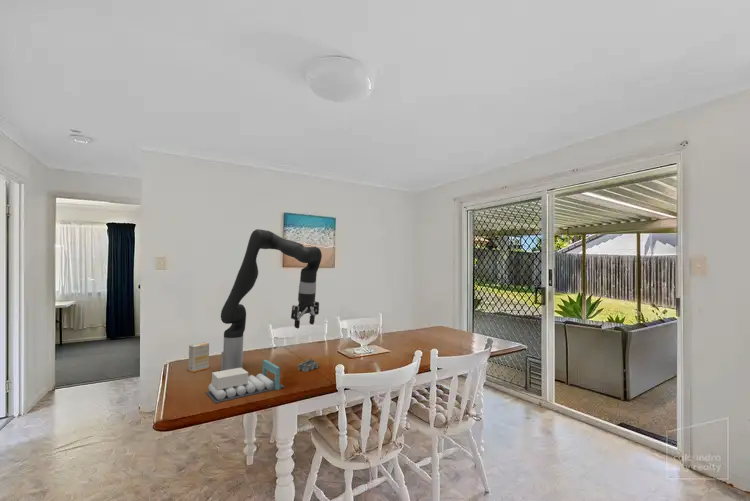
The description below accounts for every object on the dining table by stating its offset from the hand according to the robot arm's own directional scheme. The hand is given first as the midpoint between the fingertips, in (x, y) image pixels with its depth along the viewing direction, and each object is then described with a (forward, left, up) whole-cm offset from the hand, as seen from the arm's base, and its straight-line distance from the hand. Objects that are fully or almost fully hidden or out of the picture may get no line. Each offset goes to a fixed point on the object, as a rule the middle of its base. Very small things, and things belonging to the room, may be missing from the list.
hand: (304, 326), depth 156 cm
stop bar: (-15, -2, -27) cm, 30 cm away
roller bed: (-22, -10, -27) cm, 36 cm away
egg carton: (-7, +25, -27) cm, 37 cm away
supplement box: (-60, +10, -27) cm, 66 cm away
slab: (-26, -15, -22) cm, 38 cm away
